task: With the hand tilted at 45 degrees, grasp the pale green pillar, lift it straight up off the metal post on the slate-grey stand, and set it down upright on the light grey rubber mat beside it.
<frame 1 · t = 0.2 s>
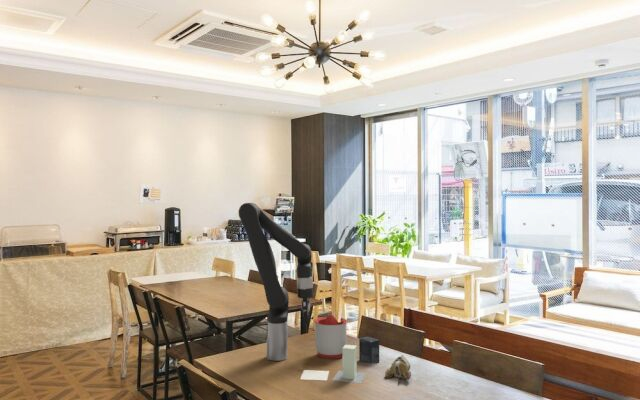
hand: (306, 321, 229), 18 cm above the table, fingers open, 8 cm apart
post stand: (349, 378, 204), on the table
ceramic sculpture: (399, 377, 207), on the table
box: (369, 362, 226), on the table
pale green pillar: (349, 376, 204), point 1 cm above the table, touching post stand
citrus juicer: (331, 355, 235), on the table
mat: (315, 377, 205), on the table
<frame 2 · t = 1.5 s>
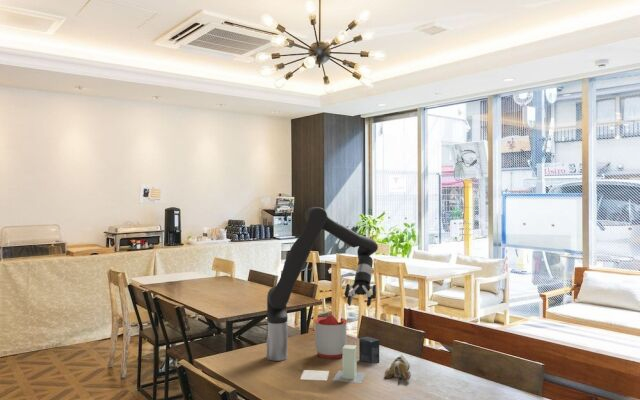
hand: (358, 305, 221), 27 cm above the table, fingers open, 8 cm apart
nothing on the table moved.
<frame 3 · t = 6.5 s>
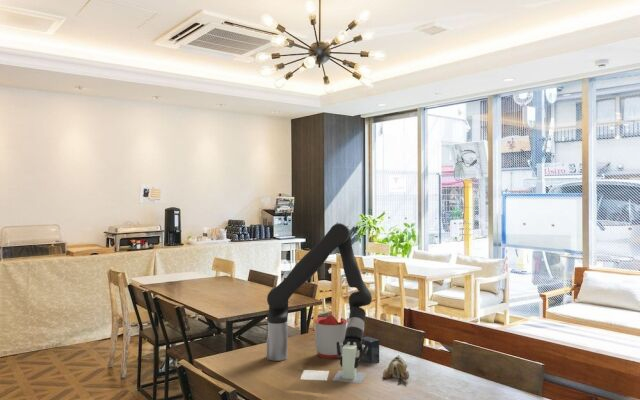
hand: (348, 366, 202), 6 cm above the table, fingers closed on pale green pillar, 5 cm apart
pale green pillar: (349, 376, 204), point 1 cm above the table, touching gripper, post stand
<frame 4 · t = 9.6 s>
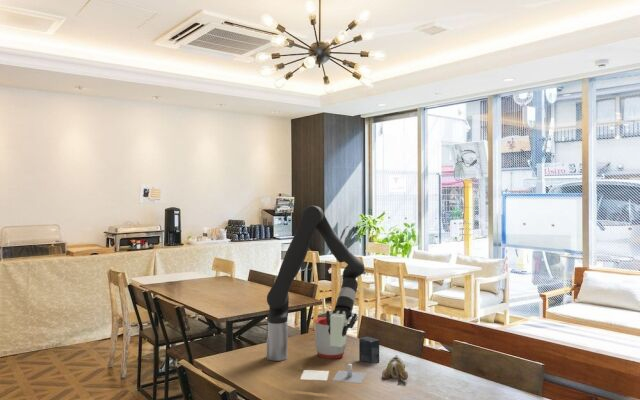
hand: (336, 334, 203), 19 cm above the table, fingers closed on pale green pillar, 5 cm apart
pale green pillar: (337, 344, 204), point 14 cm above the table, touching gripper
when the fingers open (7 cm above the table, at t = 13.1 s): pale green pillar drops 1 cm, resting on mat.
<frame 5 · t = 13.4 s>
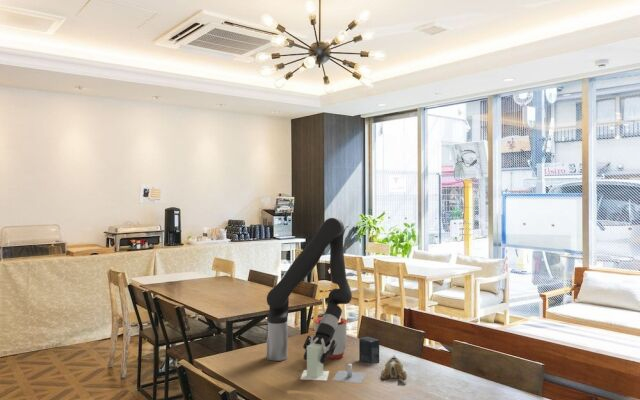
hand: (313, 361, 204), 7 cm above the table, fingers open, 7 cm apart
pale green pillar: (315, 375, 206), point 1 cm above the table, touching mat
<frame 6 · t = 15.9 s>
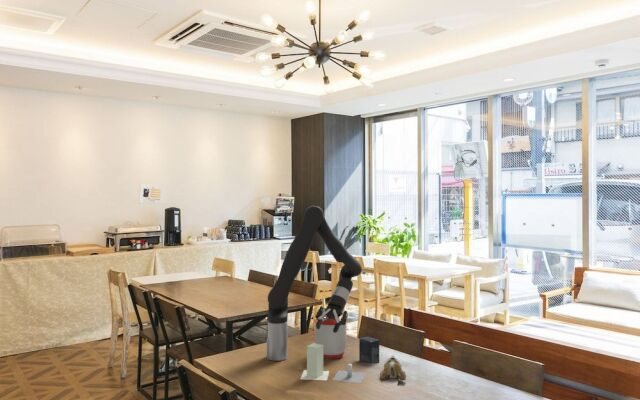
hand: (325, 330, 213), 18 cm above the table, fingers open, 8 cm apart
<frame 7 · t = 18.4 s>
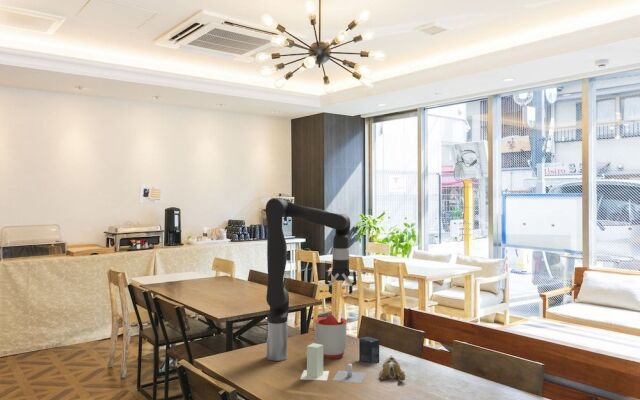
hand: (340, 293, 221), 32 cm above the table, fingers open, 8 cm apart
at the end: pale green pillar inside the target area on the mat (0.1 cm from its centre), point 1.0 cm above the mat's base; pale green pillar tilted 0°; the gripper is holding nothing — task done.
